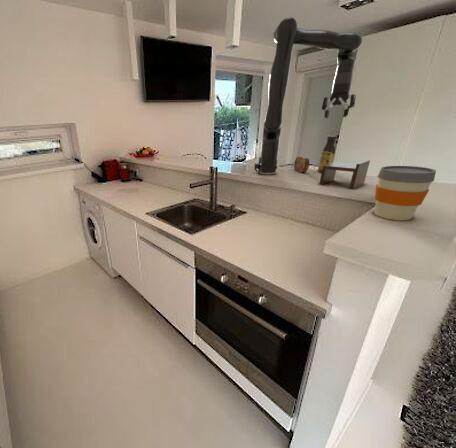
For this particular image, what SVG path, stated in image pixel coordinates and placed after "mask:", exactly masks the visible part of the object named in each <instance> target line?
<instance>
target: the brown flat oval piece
mask: <svg viewBox="0 0 456 448" xmlns="http://www.w3.org/2000/svg"><path fill="white" fill-rule="evenodd" d="M293 166H294V167H293V169H294V170H295V171H297V172H298V173H307V171H308V170H309V167H310V159H309V158H308V157H304V156H300V155H299V156H297V157H296V158H295V160H294V164H293Z"/></svg>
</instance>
